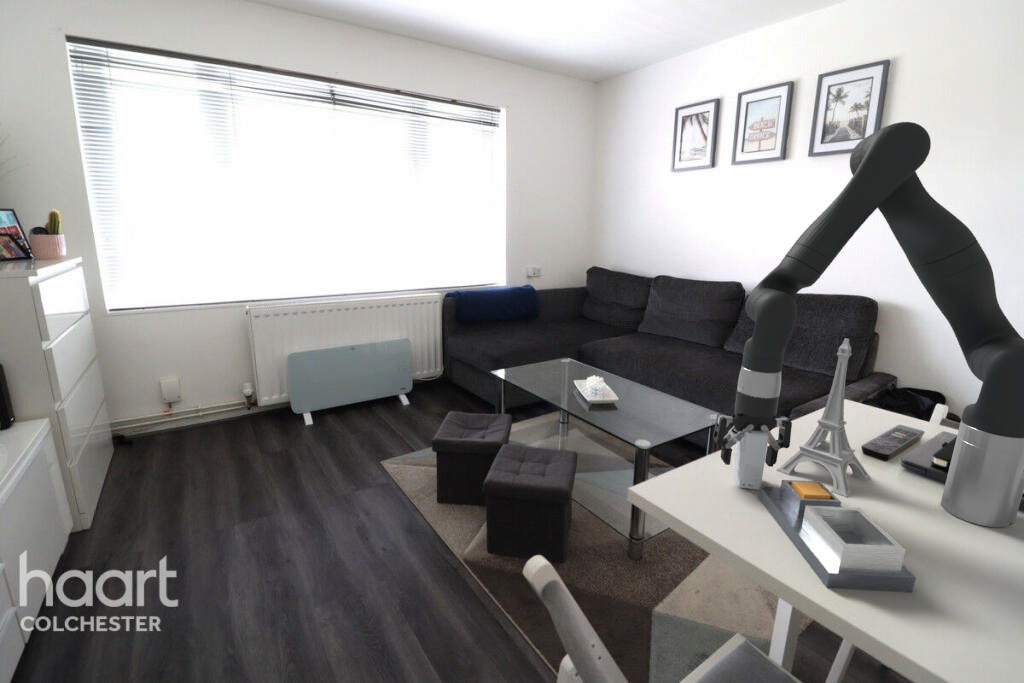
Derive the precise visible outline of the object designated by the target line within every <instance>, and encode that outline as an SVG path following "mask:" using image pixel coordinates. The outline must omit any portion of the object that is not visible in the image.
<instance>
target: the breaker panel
mask: <svg viewBox="0 0 1024 683" xmlns="http://www.w3.org/2000/svg"><path fill="white" fill-rule="evenodd" d="M792 481H795V482H817V483H818V484H819V485H820V486H821V487H822V488H823V489H824V490H825V491H826V492H827V493H828V494H829V495H830V500H829V499H807V498H801V496H800V495H799V494H798V493H797V492H796V491H795V490H794V489H793V488H792V487H791V485H792ZM757 498H758V500H759V501H760V502H761V503H762V505H763V507H765V509H766V511H767V512H768V513H769V514H770V515H771V517H772V518H773V519H774V520H775V522H776V524H778V526H779V527H780V529H781V530H782V531H783V532H784V534H785V535H786V536H787V537H788V539H789V540H790V542H791V543H792V544H793V546H794V547H795V548H796V550H797V551H798V552H799V553H800V555H801V556H802V558H804V560H805V562H807V564H808V565H809V566H810V568H811V570H813V572H814V573H815V574H816V576H817V577H818V578H819V580H820V581H821V582H822V584H823V585H824V587H825V588H827V589H828V588H829V589H848V590H862V591H865V590H867V591H880V592H881V591H882V592H897V593H900V592H901V593H913V591H914V586H915V582H916V579H917V578H916V576H915V575H913V573H912V572H910V571H909V570H908V569H907V567H905V566H904V565H903V563H904V559H905V554H906V549H905V548H904V547H903V546H902V545H901V544H900V543H898V541H896V540H895V539H894V538H893V537H892V536H891V535H890V534H889V533H888V532H887V531H886V530H884V529H883V528H882V527H881V526H880V525H879V524H878V523H877V522H876V521H874V520H873V519H872V518H871V517H870V516H869V515H868V514H867V513H866V512H865V511H863V509H862V508H861V507H848V506H847V507H846V506H842V501H841V500H840V499H839V498H838V497H837V496H835V494H834V493H833V492H831V491H830V490H829V489H828V488H827V487H826V485H824V484H823V483H822V482H821V481H820V480H817V481H816V480H794V479H793V480H792V479H782V480H781V484H780V486H762V485H761V486H760V488H759V490H758V496H757Z"/></svg>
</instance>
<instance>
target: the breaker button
mask: <svg viewBox="0 0 1024 683" xmlns="http://www.w3.org/2000/svg"><path fill="white" fill-rule="evenodd" d="M791 487H792V488H793V489H794V490H795V491H796V492H797V493H798V494H799V495H800V496H801V498H807V499H829V500H830V495H829V494H828V493H827V492H826V491H825V490H824V489H823V488H822V487H821V486H820V485H819V484H818V483H817V482H795V481H792V485H791Z"/></svg>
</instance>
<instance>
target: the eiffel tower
mask: <svg viewBox="0 0 1024 683" xmlns="http://www.w3.org/2000/svg"><path fill="white" fill-rule="evenodd" d="M852 354H853V353H852V346H851V344H850V338H844V339H843V342H842V343H841V345H840V346H839V347H838V351H837V353H836V356H837V358H838V359H837V362H836V363H837V364H836V368H835V373H834V377H833V380H832V384H831V387H830V388H831V389H830V391H829V395H828V397H827V401H826V404H825V408H824V410H823V413H822V416H821V418H819V419H818V420H817V423H818V424H817V427H816V428H815V430H814V431H813V433H812V434H811V436H810V437H809V439H807V441H805V442H803V443H802V444H801V445H799V447H798V448H799V450H798V451H797V452H796V453H795V454H794V455H792V456H791V457H790V458H789V459H787V461H785V462H784V464H782V465H781V466H779V467H778V468H777V469H776V471H777V472H779V473H782V474H784V475H787V476H791V475H792V474H794V473H795V472H796V470H795V469H796V467H797V466H798V465H799V464H800V463H803V462H804V463H805V462H815V463H818V464H820V465H823V467H825V468H826V469H827V470H828V472H829V473H830V475H831V478H832V481H833V484H832V485H833V486H832V487H833V488H832V490H831V491H830V492H831V493H832V494H837V495H839V496H841V497H844V498H848V497H849V496H850V495H851V494H852V491H851V489H850V487H849V481H848V476H847V473H848V472H847V471H848V467H849V468H850V469H851V472H852V473H851V475H850V476H852V477H855V478H857V479H859V480H860V479H861V480H863V481H867V480H868V479H869V478H870V477H871V475H870V474H869V473H868V472H867V470H866V469H865V467H864V466H863V465H862V463H861V462H860V460H859V459H858V457H857V455H855V452H856V449H855V448H851V445H850V442H849V440H848V437H847V436H848V435H847V433H846V429H845V425H846V424H847V421H846V420H845V418H844V416H845V415H844V414H845V412H844V410H845V389H846V388H845V387H846V379H847V371H848V363H849V358H850V357H851V356H852ZM829 433H830V436H829ZM828 436H829V440H827V437H828Z"/></svg>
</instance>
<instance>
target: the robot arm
mask: <svg viewBox="0 0 1024 683" xmlns="http://www.w3.org/2000/svg"><path fill="white" fill-rule="evenodd" d="M931 143H932V142H931V137H930V134H929V133H928V131H927V130H926V128H924V127H923V126H922V125H920V124H918V123H915V122H911V121H901V122H900V121H899V122H895V123H892V124H889V125H887V126H884V127H882V128H880V129H878V130H876V131H875V132H873V133H871V134H869V135H868V136H866V137H865V138H863V139H862V140H860V141H859V142H858V143H857V144H856V145H855V147H854V148H853V150H852V151H851V154H850V157H849V168H850V169H849V170H850V171H851V174H852V177H851V178H850V180H849V182H848V183H847V184H846V185H845V187H844V188H843V189H842V191H841V192H840V193H839V194H838V195H837V197H835V199H834V200H833V201H832V202H831V203H830V205H829V206H828V207H826V209H825V210H823V211H822V213H821V214H820V215H818V216H817V217H816V219H815V220H814V221H813V222H812V223H811V224H810V225H809V226H808V227H806V229H805V230H804V231H803V232H802V233H801V235H800V236H799V237H798V239H796V241H795V242H794V243H793V245H792V246H791V247H790V248H789V250H788V252H786V254H785V256H784V257H783V258H782V259H781V261H780V263H779V264H778V265H776V267H775V268H773V270H771V271H770V272H769V273H768V274H767V275H765V277H763V279H761V280H760V282H758V284H757V285H756V286H754V288H753V289H752V291H750V293H749V295H748V297H747V299H746V301H745V306H744V307H745V312H746V315H747V316H748V317H749V319H751V320H752V321H753V322H755V323H754V328H753V331H752V336H751V337H749V338H748V339H747V340H746V342H745V344H744V348H743V352H742V353H743V354H742V362H741V368H740V371H739V375H738V380H737V388H736V396H735V401H734V412H733V414H732V415H731V416H730V415H723V413H718V414H717V415H716V420H715V425H714V429H713V435H712V439H713V441H714V442H715V443H716V445H717V446H721V449H720V458H721V460H722V462H723V463H724V464H725V465H727V466H730V465H731V460H732V454H733V453H732V452H733V448H732V447H733V446H734V445H736V443H737V442H739V441H740V440H741V439H742V438H743V437H744V435H745V432H751V431H762V432H763V433H767V434H768V442H767V449H766V456H765V463H764V464H766V465H767V467H769V468H771V467H774V465H776V463H777V460H778V455H779V451H780V449H783V448H785V449H789V448H790V444H791V437H792V436H791V435H792V427H793V426H792V425H793V423H792V421H791V420H790V419H789V418H788V417H787V416H785V415H782V416H780V417H776V416H777V414H778V413H777V412H778V408H779V407H778V406H779V401H780V400H779V399H780V393H781V391H782V389H781V388H782V372H783V371H782V369H783V366H784V357H785V349H786V347H787V345H788V343H789V341H790V339H791V335H792V334H793V331H794V328H795V325H796V323H797V316H798V308H797V304H796V301H795V299H794V298H793V297H794V296H796V294H798V292H800V291H801V290H802V289H806V288H809V287H810V288H811V287H812V286H813V285H814V284H815V283H816V282H817V281H818V280H819V279H820V278H821V276H822V275H823V274H824V273H825V271H826V270H827V269H828V267H829V266H830V265H831V264H832V263H833V261H835V259H836V258H837V256H838V255H839V253H840V252H841V251H842V250H843V249H844V248H845V246H846V245H847V244H848V242H849V241H850V240H851V238H852V237H853V236H854V235H855V233H856V232H857V231H858V230H859V229H860V228H861V226H863V225H864V223H866V221H867V220H868V219H869V218H870V216H871V215H872V214H873V213H875V211H876V210H879V212H880V213H881V215H882V217H883V218H884V220H885V221H886V223H887V225H888V226H889V229H890V230H891V232H892V235H893V236H894V238H895V239H896V241H897V243H898V245H899V246H900V248H901V249H902V251H903V253H904V255H905V256H906V258H907V262H908V263H909V264H910V266H911V268H912V270H913V272H914V273H915V274H916V276H917V278H918V279H919V281H920V283H921V284H922V286H923V288H924V289H925V291H926V292H927V293H928V295H929V296H930V299H931V300H932V301H933V302H934V304H935V306H936V307H937V308H938V310H939V311H940V312H941V314H942V315H943V316H944V318H945V319H946V320H947V322H948V324H949V325H950V328H951V329H952V332H953V334H954V336H955V338H956V340H957V342H958V344H959V348H960V350H961V352H962V355H963V357H964V359H965V361H966V362H965V363H966V364H967V366H968V369H969V370H970V371H971V373H972V374H973V376H974V377H975V378H977V379H978V380H979V381H980V382H982V384H981V388H980V392H979V395H978V398H977V400H976V401H975V403H971V404H968V405H966V406H965V407H964V408H963V411H962V415H961V418H960V419H961V420H960V423H959V428H958V431H957V436H956V440H955V444H954V448H953V450H952V451H953V452H952V456H951V460H950V465H949V468H948V472H947V476H946V480H945V484H944V487H943V493H942V496H941V501H940V506H941V507H942V508H943V509H944V510H945V511H946V512H948V513H950V514H951V515H953V516H954V517H957V518H959V519H962V520H963V521H967V522H969V523H972V524H976V525H979V526H984V527H990V528H1004V527H1007V526H1008V525H1009V524H1015V522H1016V519H1017V515H1018V512H1019V509H1020V504H1021V502H1022V497H1023V494H1024V338H1023V336H1021V335H1020V334H1019V332H1018V331H1017V330H1016V329H1015V327H1014V326H1013V325H1012V323H1011V322H1010V321H1009V318H1008V317H1007V316H1006V315H1005V313H1004V312H1003V310H1002V308H1001V306H1000V304H999V301H998V300H999V299H998V298H997V297H998V296H997V291H996V290H997V289H996V282H995V277H994V271H993V268H992V265H991V263H990V260H989V258H988V256H987V255H986V252H985V251H984V250H983V248H982V246H981V245H980V243H979V241H978V240H977V237H976V236H975V235H974V233H973V231H972V230H971V229H970V228H969V227H968V226H967V225H966V224H965V223H964V222H963V221H962V220H960V218H958V217H957V216H955V215H954V214H953V213H952V212H950V211H949V210H948V209H947V208H946V207H944V206H943V205H941V204H940V203H939V202H938V201H936V200H935V199H934V197H933V196H931V194H930V193H929V192H928V191H927V189H926V188H925V186H924V185H923V183H922V181H921V178H919V175H918V173H917V172H916V171H918V169H919V168H921V166H922V165H923V164H924V163H925V162H926V160H927V158H928V157H929V154H930V150H931V147H932V146H931V145H932V144H931ZM730 424H732V425H733V426H732V427H730ZM776 426H777V427H778V435H777V436H778V439H777V440H776V439H775V437H774V435H773V433H772V432H771V431H772V430H773V429H775V427H776ZM727 427H730V429H729V430H728V431H727V433H726V428H727ZM1008 523H1009V524H1008Z"/></svg>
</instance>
